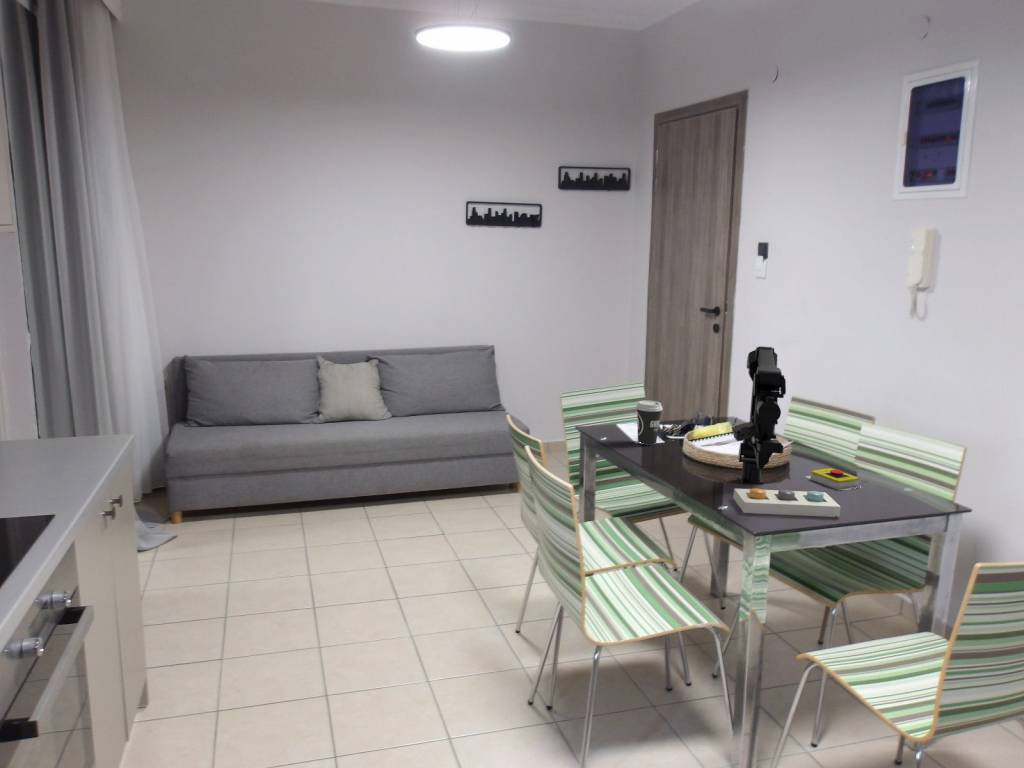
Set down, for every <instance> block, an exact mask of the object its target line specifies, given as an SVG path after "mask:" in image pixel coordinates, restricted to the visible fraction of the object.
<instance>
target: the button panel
mask: <svg viewBox="0 0 1024 768" xmlns="http://www.w3.org/2000/svg"><path fill="white" fill-rule="evenodd" d="M733 489H734V490H733V500H734V501H735V503H736V504H737V505H738V506H739V508H740V510H741V511H742V513H744V514H758V515H759V514H761V515H763V514H764V515H784V516H785V515H787V516H805V517H826V518H827V517H829V518H830V517H831V518H841V517H840V516H841V505H840V504H838V503H837V502H836V501H835V500H834V498H832V497H831V496H830V495H829V494H828V493H827V492H825V491H823V492H821V491H820V492H821V493H823V494H824V498H823V502H811V501H807V500H806V498H807V492H808V491H803V490H802V491H801V490H799V491H797V490H792V491H793V492H794V493H795V497H794V501H788V500H779V499H778V491H779V490H780V489H779V490H777V489H776V490H775V489H764V490H765V491H766V498H765V499H750V498H749V493H750V489H751V488H733ZM835 516H837V517H835Z"/></svg>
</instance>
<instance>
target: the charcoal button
mask: <svg viewBox="0 0 1024 768" xmlns="http://www.w3.org/2000/svg"><path fill="white" fill-rule="evenodd" d="M793 491H794V490H788V489H779V491H778V499H779V500H788V501H794V497H795V493H794V492H793Z"/></svg>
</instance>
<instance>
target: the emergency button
mask: <svg viewBox="0 0 1024 768" xmlns="http://www.w3.org/2000/svg"><path fill="white" fill-rule="evenodd" d="M810 473H811V474H810V475H805V477H804V478H805V479H808V480H811V481H814V482H816V483H819V484H822V485H824V486H826V487H830V488H833V489H834V490H838V491H840V490H842V491H841V492H845V490H847V491H851V490H850V489H851V488H850V487H854V489H853V490H857V489H856V488H857V487H856V486H860V488H859V489H862V488H861V487H862V486H861V485H859V477H858V476H854V475H851V474H849V473H845V472H844V471H842V470H839V469H834V468H831V467H829V468H823V469H815V470H814V469H813V470H811V472H810ZM855 487H856V488H855ZM843 490H844V491H843Z"/></svg>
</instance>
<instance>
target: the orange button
mask: <svg viewBox="0 0 1024 768" xmlns="http://www.w3.org/2000/svg"><path fill="white" fill-rule="evenodd" d="M749 489H750V493H749V498H750V499H765V498H766V491H765V490H766V489H761V488H756V487H755V488H749Z"/></svg>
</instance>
